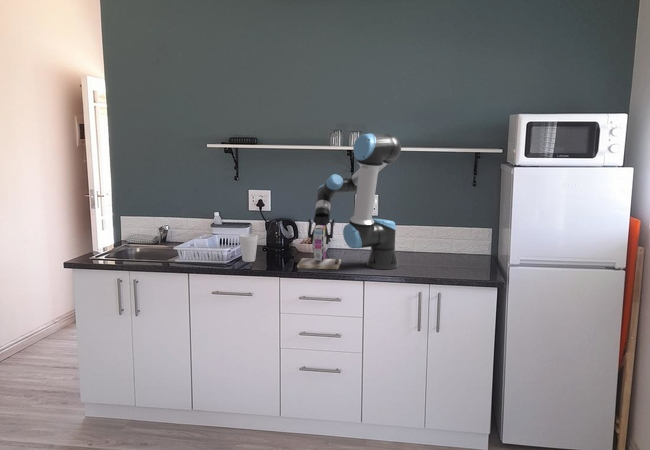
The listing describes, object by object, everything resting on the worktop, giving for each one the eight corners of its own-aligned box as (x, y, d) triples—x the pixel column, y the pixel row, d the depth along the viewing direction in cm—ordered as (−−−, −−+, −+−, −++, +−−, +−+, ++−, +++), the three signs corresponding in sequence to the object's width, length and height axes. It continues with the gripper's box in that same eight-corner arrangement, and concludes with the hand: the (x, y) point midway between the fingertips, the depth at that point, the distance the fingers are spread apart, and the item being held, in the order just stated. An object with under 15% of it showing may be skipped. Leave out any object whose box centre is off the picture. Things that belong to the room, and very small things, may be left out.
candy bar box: (323, 261, 263) (323, 228, 261) (313, 261, 264) (312, 228, 261) (326, 256, 274) (326, 224, 272) (316, 256, 275) (316, 224, 272)
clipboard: (341, 261, 277) (341, 257, 276) (338, 269, 260) (338, 264, 260) (302, 260, 279) (302, 255, 278) (297, 268, 262) (297, 263, 262)
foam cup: (248, 263, 271) (248, 237, 269) (235, 260, 277) (235, 235, 275) (261, 260, 279) (261, 235, 277) (249, 257, 284) (248, 233, 282)
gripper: (340, 215, 280) (337, 253, 266) (305, 215, 282) (301, 252, 268) (339, 206, 274) (336, 245, 260) (304, 206, 276) (299, 244, 262)
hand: (318, 248), depth 264 cm, fingers closed on candy bar box, 5 cm apart
